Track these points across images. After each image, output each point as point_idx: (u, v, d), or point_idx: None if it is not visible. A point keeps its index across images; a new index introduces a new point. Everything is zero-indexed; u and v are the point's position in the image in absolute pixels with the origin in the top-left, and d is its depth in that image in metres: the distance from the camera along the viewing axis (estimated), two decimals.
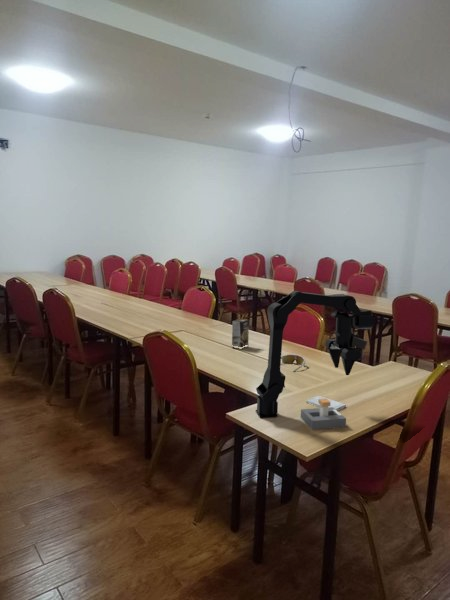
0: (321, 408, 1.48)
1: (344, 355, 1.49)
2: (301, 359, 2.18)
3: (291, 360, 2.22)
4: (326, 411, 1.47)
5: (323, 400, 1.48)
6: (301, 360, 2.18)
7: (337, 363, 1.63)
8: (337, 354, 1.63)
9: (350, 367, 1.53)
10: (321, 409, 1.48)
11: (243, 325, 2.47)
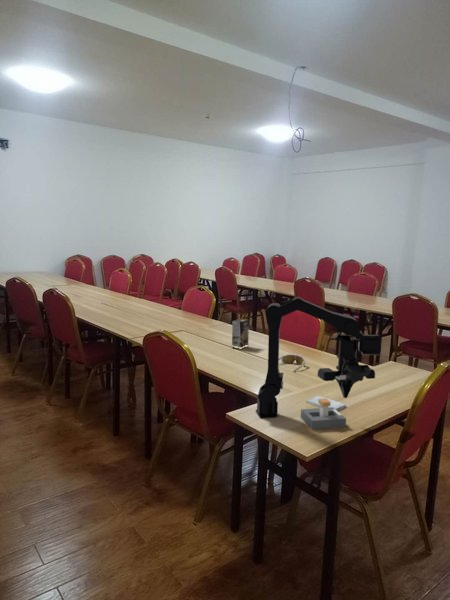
0: (321, 408, 1.48)
1: None
2: (301, 359, 2.18)
3: (291, 360, 2.21)
4: (326, 411, 1.47)
5: (323, 400, 1.48)
6: (301, 360, 2.18)
7: None
8: (347, 383, 1.48)
9: (342, 389, 1.48)
10: (321, 409, 1.48)
11: (243, 325, 2.47)
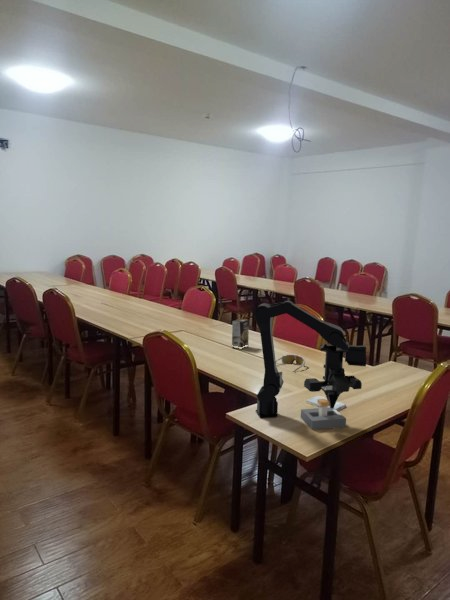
0: (320, 408, 1.48)
1: None
2: (301, 359, 2.17)
3: (291, 360, 2.21)
4: (325, 411, 1.47)
5: (322, 400, 1.48)
6: (300, 360, 2.18)
7: None
8: (333, 394, 1.48)
9: (329, 399, 1.48)
10: (320, 409, 1.48)
11: (243, 325, 2.47)
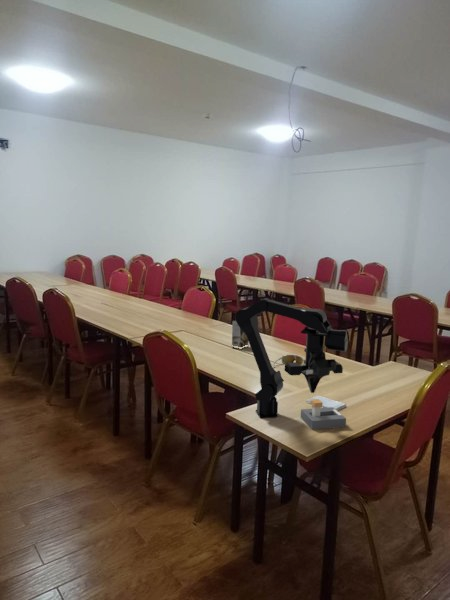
0: (313, 409, 1.47)
1: None
2: (301, 359, 2.17)
3: (291, 360, 2.21)
4: (318, 412, 1.46)
5: (315, 401, 1.47)
6: (300, 360, 2.18)
7: None
8: (314, 378, 1.46)
9: (309, 384, 1.45)
10: (313, 410, 1.47)
11: None
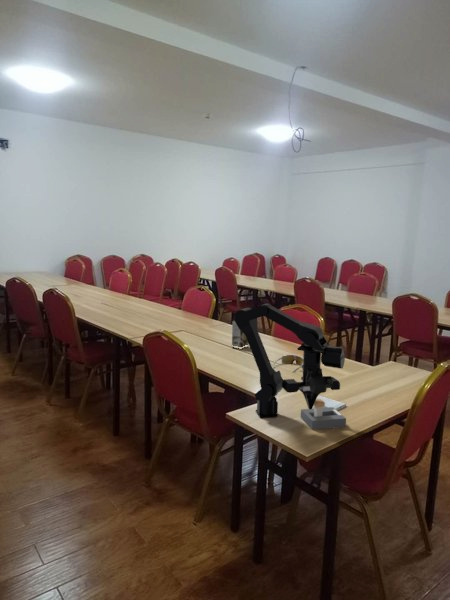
0: (315, 408, 1.47)
1: None
2: (301, 359, 2.17)
3: (291, 360, 2.21)
4: (320, 411, 1.47)
5: (317, 400, 1.47)
6: (300, 360, 2.18)
7: None
8: (312, 394, 1.46)
9: (307, 400, 1.46)
10: (315, 409, 1.47)
11: None
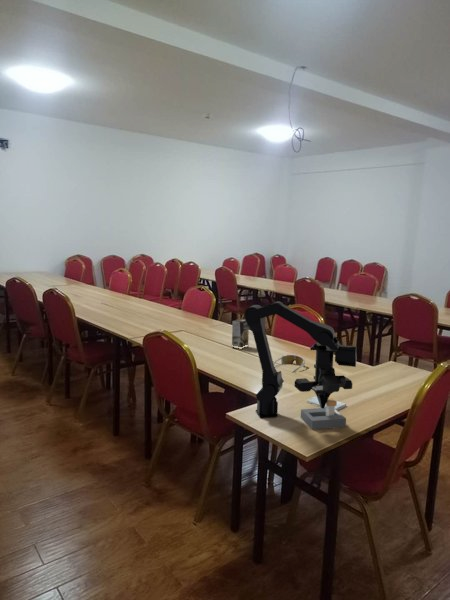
0: (327, 408, 1.48)
1: None
2: (301, 359, 2.17)
3: (291, 360, 2.21)
4: (332, 411, 1.48)
5: (329, 400, 1.48)
6: (300, 360, 2.17)
7: None
8: (324, 394, 1.47)
9: (319, 400, 1.47)
10: (327, 409, 1.48)
11: (243, 325, 2.47)
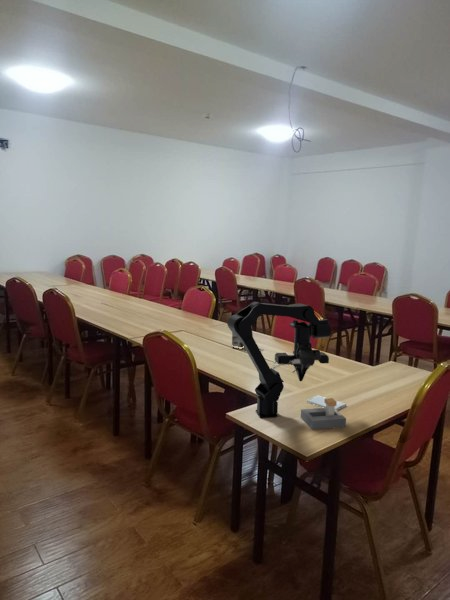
0: (327, 408, 1.48)
1: None
2: None
3: None
4: (332, 411, 1.48)
5: (329, 400, 1.48)
6: None
7: None
8: (302, 367, 1.57)
9: (297, 373, 1.57)
10: (327, 409, 1.48)
11: None
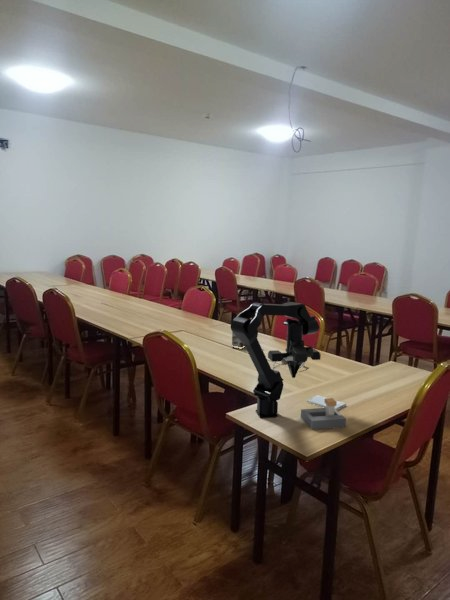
0: (327, 408, 1.48)
1: None
2: None
3: None
4: (332, 411, 1.48)
5: (329, 400, 1.48)
6: None
7: None
8: (295, 364, 1.61)
9: (290, 370, 1.61)
10: (327, 409, 1.48)
11: None
